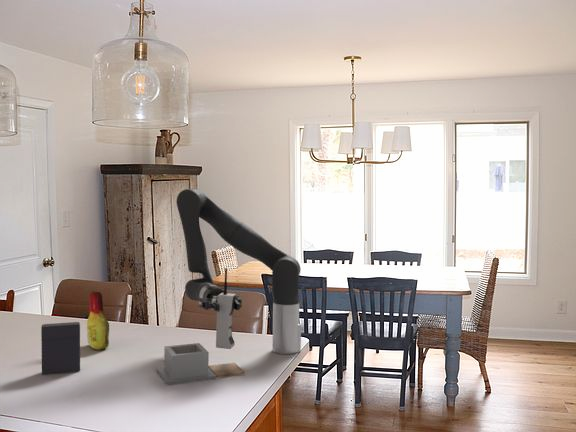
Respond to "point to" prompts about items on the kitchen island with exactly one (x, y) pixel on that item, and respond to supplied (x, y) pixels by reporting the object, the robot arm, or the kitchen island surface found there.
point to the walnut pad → (226, 370)
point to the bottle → (97, 323)
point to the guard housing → (185, 364)
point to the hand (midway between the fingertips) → (228, 307)
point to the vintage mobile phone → (225, 318)
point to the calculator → (60, 348)
